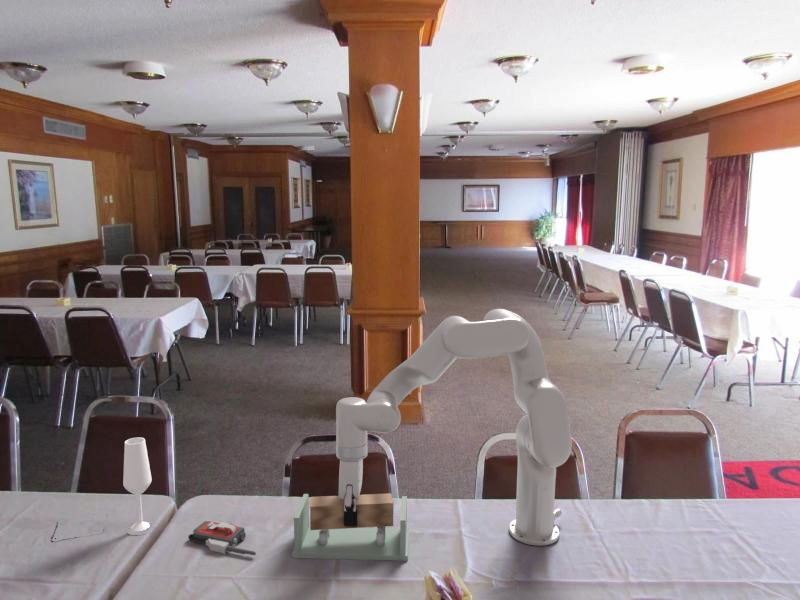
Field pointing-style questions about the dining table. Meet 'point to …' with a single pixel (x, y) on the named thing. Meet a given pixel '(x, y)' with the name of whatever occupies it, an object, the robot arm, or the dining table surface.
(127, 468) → the champagne flute
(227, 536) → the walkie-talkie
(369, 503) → the wooden block
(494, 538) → the dining table surface
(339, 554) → the shelf rack
